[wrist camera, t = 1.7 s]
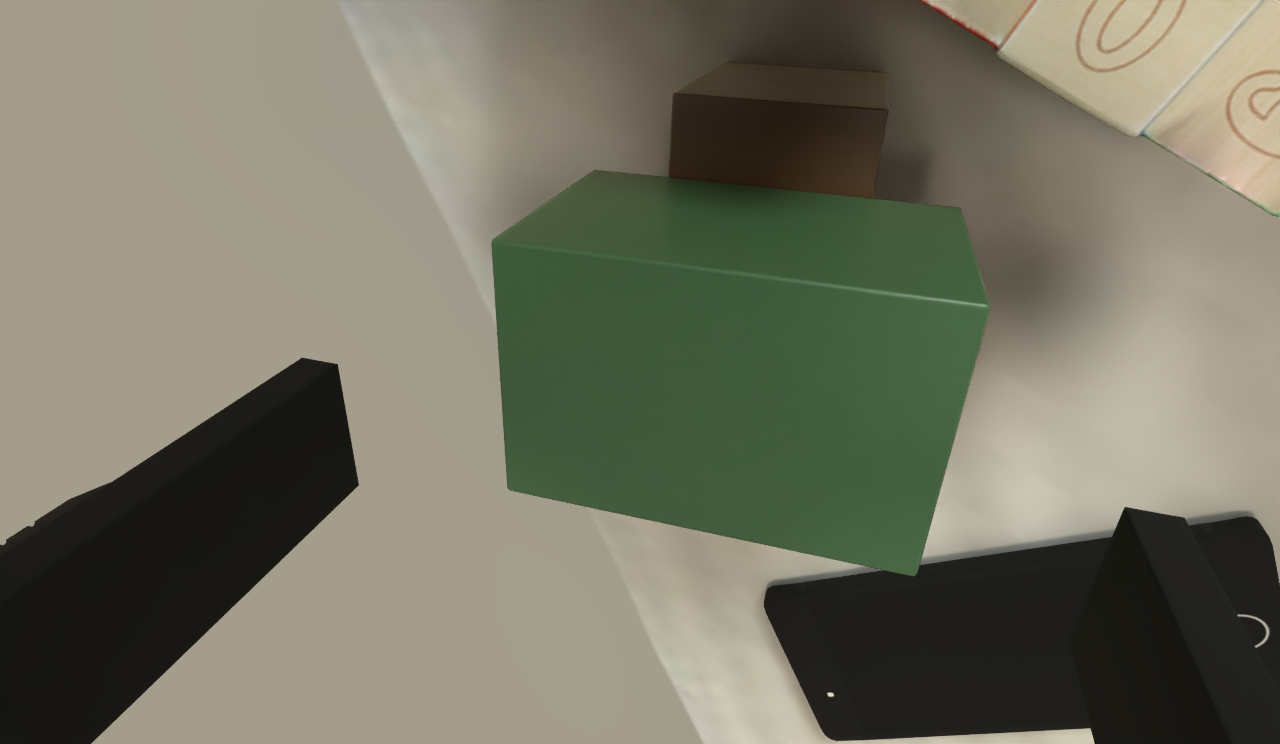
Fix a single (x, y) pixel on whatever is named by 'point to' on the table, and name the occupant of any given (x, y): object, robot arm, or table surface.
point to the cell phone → (981, 636)
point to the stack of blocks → (1156, 73)
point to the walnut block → (781, 128)
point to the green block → (739, 359)
